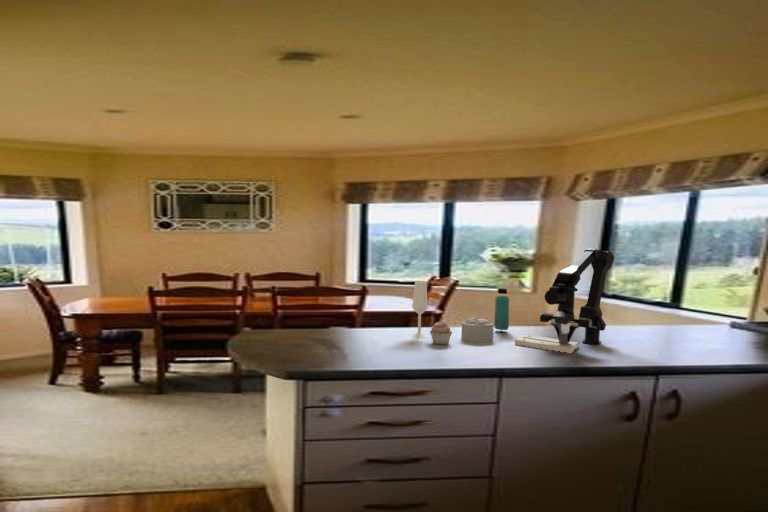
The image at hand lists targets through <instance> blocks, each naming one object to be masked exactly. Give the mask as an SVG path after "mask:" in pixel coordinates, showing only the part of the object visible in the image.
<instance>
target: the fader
mask: <svg viewBox="0 0 768 512" xmlns="http://www.w3.org/2000/svg"><path fill="white" fill-rule="evenodd" d="M568 335H569V331H567V330H565V331H563V330H561V332H560V333H559V339H558V340H559V343H561V344H568V343H569V342H568Z"/></svg>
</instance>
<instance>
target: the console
mask: <svg viewBox="0 0 768 512" xmlns="http://www.w3.org/2000/svg"><path fill="white" fill-rule="evenodd" d="M514 345H515V346H522V345H523V347H528V346H529V348H534V347H535V349H540V348H541V350H546V349H547V351H552V350H554V351H553V352H558V351H560V352H559V353H564V352H567V353H566V354H570V353H571V354H572V353H574V352H575V351H576V350H577V349H578V348H579V342H577V341H571V340H570V342H569V343H568V344H561V343H559V339H557V338H551V337H544V336H538V335H532V334H523V335H521V336H519V337H518V338H515V340H514ZM575 349H576V350H575ZM574 350H575V351H574Z"/></svg>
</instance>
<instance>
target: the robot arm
mask: <svg viewBox="0 0 768 512" xmlns="http://www.w3.org/2000/svg"><path fill="white" fill-rule="evenodd" d="M614 261H615V255H614V254H613V252H611V251H608V250H607V251H606V250H600V249H597V248H586V249H584V251H583V253H582V254H581V255H580V256H578V258H577V259H576V260H575V261H574V262H573V263H572V264H571V265H570V266H568V267H566V268H563V269H562V270H559V272H558V273H557V275H556V277H555V279H554V281H553V282H552V285H551V286H549V289H548V290H547V291H546V292H545V294H544V300H545V302H546V303H547V304H548V305H550V306H552V305H553V306H554V305H557V310H556V311H555V314H554V313H547V312H544V313H542V314H541V315H540V316H539V322H542V323H548V322H550V325H551V326H553V327H554V330H555V331H556V335H557V338H558V340H559V333H560V332H562V325H569V324H570V325H569V326H568V327H569V330H568V332H569V335H568V342H570V341H571V340H572V337H573V335H574V333H575V331H576V329H579V328H584V339H583V340H582V342H581V343H582V344H590V345H595V346H599V345H600V344H601V343H602V340H600V335H601V334H600V332H601V331H602V332H603V331H605V330H606V327H607V324H606V323H605V320H604V319H603V312H602V310H601V307H600V305H601V300H602V295H603V291H604V287H605V286H604V285H605V280H606V276H607V273H608V271H610V269H611V268H612V266H613V263H614ZM590 265H591V267H592V271H593V272H592V276H591V281H590V287H589V293H588V296H587V302H586V303H585V305H582V306H581V307H580V308H579V309H580V310H579V314H578V315H579V316H578V318H575V313H574V311H575V293H576V292H578V291H579V290H578V288H577V287H576V286H577V285H578V283H579V282H580V280H581V275H582V274H583V272H585V270H587V268H589V266H590Z"/></svg>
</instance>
